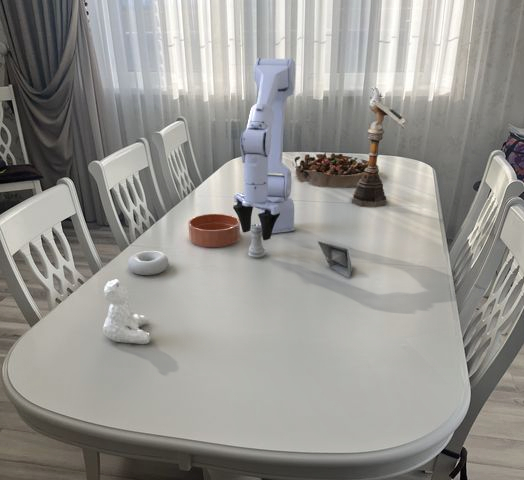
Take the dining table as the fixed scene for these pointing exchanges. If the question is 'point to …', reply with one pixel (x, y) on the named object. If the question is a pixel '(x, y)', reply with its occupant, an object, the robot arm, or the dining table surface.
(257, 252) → the rook chess piece
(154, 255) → the donut
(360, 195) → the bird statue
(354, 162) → the food dish
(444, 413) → the dining table surface
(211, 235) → the bowl
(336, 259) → the grey rectangular frame
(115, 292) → the sitting furry creature
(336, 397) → the dining table surface
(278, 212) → the robot arm
